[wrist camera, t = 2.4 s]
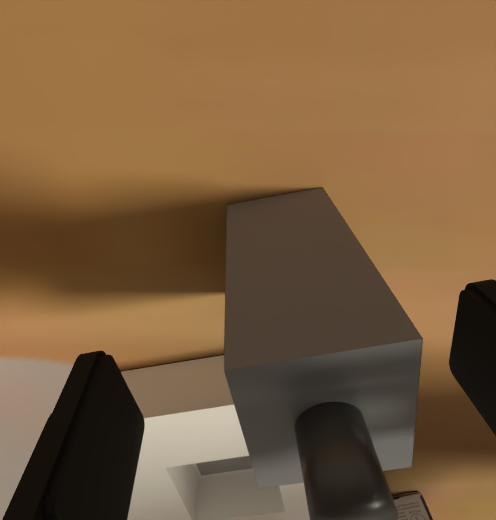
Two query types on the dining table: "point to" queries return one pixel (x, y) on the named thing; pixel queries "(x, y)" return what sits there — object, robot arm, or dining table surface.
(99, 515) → the robot arm
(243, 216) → the plug
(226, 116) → the dining table surface
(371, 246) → the dining table surface
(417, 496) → the candy bar box
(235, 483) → the socket plate
